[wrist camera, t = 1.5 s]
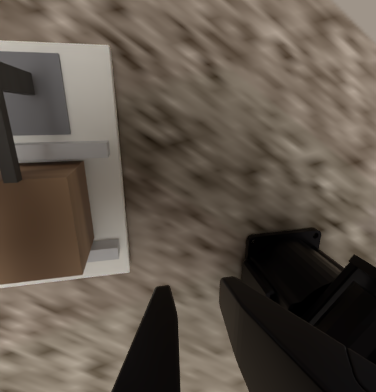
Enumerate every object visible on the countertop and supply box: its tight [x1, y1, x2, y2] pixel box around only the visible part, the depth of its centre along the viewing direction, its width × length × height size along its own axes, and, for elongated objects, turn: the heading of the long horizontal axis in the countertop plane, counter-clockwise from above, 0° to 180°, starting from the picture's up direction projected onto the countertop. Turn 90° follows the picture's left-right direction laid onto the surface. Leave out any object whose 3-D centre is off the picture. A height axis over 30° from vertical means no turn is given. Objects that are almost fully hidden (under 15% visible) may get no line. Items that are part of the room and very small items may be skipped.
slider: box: [0, 62, 94, 285], centre depth 12 cm, size 4×10×4 cm, turn 0°
